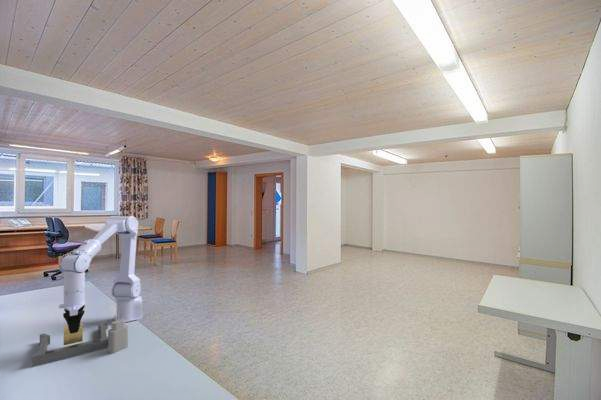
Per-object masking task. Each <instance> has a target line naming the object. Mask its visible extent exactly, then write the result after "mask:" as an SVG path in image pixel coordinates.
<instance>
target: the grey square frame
mask: <svg viewBox="0 0 601 400" xmlns="http://www.w3.org/2000/svg"><path fill="white" fill-rule="evenodd" d="M108 326H109V321H108V320H104V321H102V322H101V323H99V324H98V326H97V327H98V330H97V331H98V334H99V337H100V338H97V339H93V340H89V341H85V342H79V343H76V344H75V343H74V344H70V345H66V346H63V347H58V348H55V349H50V350H48V347H49V345H51V335H49V334H48V333H41V334H39V347H38V350H37V352H36V353H34V354H32V356H31V368H34V367H38V366H42V365H46V364H50V363H52V362H53V363H54V362H58V361H60V360H65V359H69V358H70V359H71V358H73V357H77V356H80V355H81V356H82V355H86V354H90V353H94V352H97V351H102V350H106V349H108V334H107V330H109V329H108Z"/></svg>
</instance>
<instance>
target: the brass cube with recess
mask: <svg viewBox="0 0 601 400" xmlns="http://www.w3.org/2000/svg"><path fill="white" fill-rule="evenodd" d="M83 324H84V323H83V322H82V321H81V322H80V326H79V330H78V332H77V333H72V334H70V332H69V328H68V324H67V325H64V326H63V346H69V345H73V344H75V343H76V344H77V343H82V342H83V335H84V334H83V332H84V330H83V328H84V327H83V326H84V325H83Z"/></svg>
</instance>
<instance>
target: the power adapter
mask: <svg viewBox="0 0 601 400" xmlns="http://www.w3.org/2000/svg"><path fill="white" fill-rule="evenodd" d="M116 317H117V314H115V315H114V321H112V322H111V324H110V326H111V329H107V333H108V334H107V337H108V348H107V351H108V352H107V353H109V354H116V353H118V352H121V351H123V350H125V349H126V348H128V347H129V346H128V345H129V325H127V324H126V322H125V319H121V313H120V319H119V320H116Z"/></svg>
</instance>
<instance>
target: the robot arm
mask: <svg viewBox="0 0 601 400" xmlns="http://www.w3.org/2000/svg"><path fill="white" fill-rule="evenodd" d="M138 230H139V221H138V219H137V218H136V217H135V216H133V215H130V216H128V215H127V216H121V215H119V216H116V215H112V216H109V218H108V219H107V220H105V223H104V226H103V227H102V228H101V229H100V230H99V232H97V234H96V235H95V236H94V237H93V238H91V239H90V238H89V239H88V238H87V239H86V240H84V241H83V242H82V244H80V246H79V247H77V249H75V250H74V251H73V252H72V253H71V254H67V255H65V256H64V257H62V259H61V260H60V262H59V264H58V269H59V270H60V271H61V277H63V303H62V304H59V305H58V308H59V309H63V311H64V312H63V314H62V317H63V319H64V320H65V322H66V323H67V325H68V328H69V332H70V334H72V333H77V332H78V330H79V326H80V323H81V322H82V318H83V316H84V314H85V310H84V309H85V307H86V270H88V269H89V267H90V264H91V262H92V259H93V258H94V257H95V256H96V255H97V254H99V252H100V251H101V250H102V245H103V243H105V242H106V241H107V240H109V239H110V238H111V237H112V236H113V235H114V234H116V235H118V236H119V237H120V238H121V251H120V265H119V276H117V277H116V278H115V279H114V280H113V285H112V288H111V296H112V297H114V300H115V301H116V320H119V319H120V313H121V319H125V323H129V322H133V321H137V320H142V319H143V298H142V296H141V295H140V294H141V292H142V286H141V279H140V277H139V276H137V275H135V270H136V269H135V268H136V266H135V265H136V253H137V240H138V239H137V238H138ZM132 317H133V318H132Z"/></svg>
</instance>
